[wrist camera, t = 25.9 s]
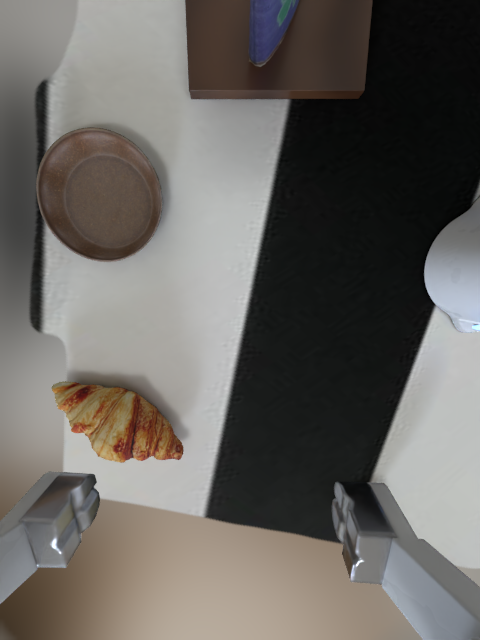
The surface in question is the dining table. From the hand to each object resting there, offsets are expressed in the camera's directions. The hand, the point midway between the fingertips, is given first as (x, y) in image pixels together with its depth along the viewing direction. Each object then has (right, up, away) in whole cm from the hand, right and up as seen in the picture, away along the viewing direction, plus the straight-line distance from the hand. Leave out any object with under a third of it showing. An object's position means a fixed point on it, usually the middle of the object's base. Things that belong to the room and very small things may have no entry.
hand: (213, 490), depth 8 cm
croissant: (-17, -8, +30) cm, 36 cm away
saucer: (-16, +21, +24) cm, 35 cm away
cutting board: (+5, +39, +20) cm, 44 cm away
